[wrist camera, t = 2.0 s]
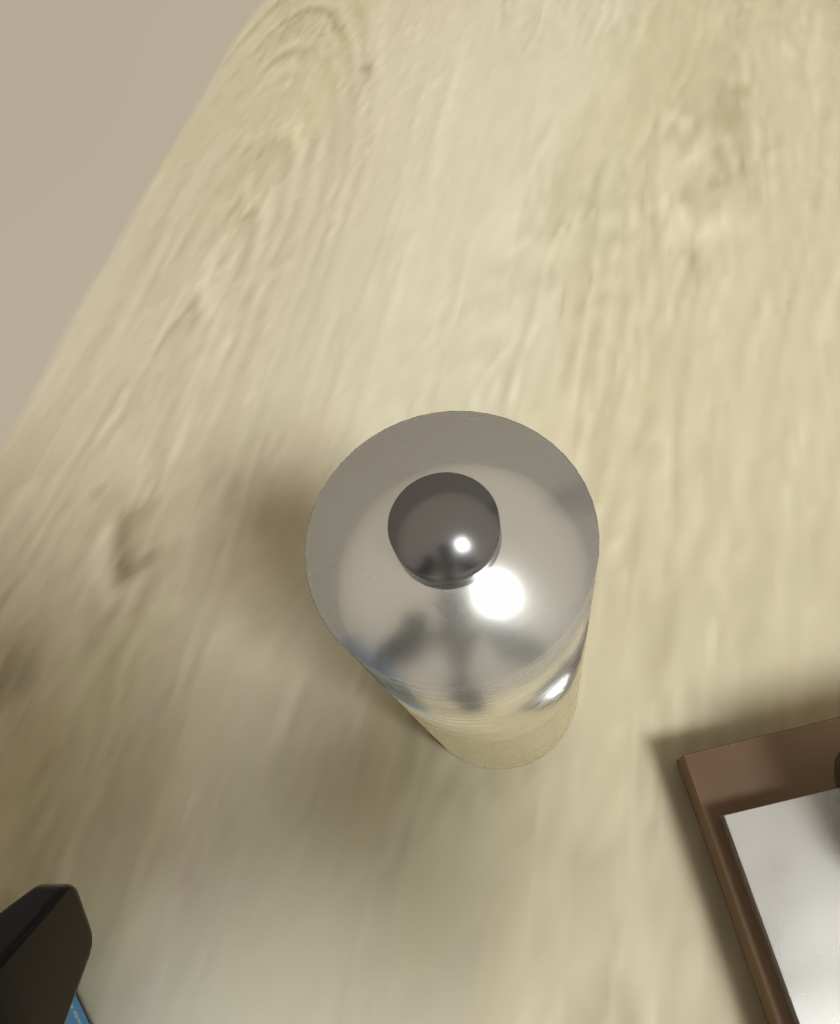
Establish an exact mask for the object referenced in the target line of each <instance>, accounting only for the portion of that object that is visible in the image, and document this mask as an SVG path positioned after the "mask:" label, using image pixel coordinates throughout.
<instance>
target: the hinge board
mask: <svg viewBox="0 0 840 1024" xmlns="http://www.w3.org/2000/svg"><path fill="white" fill-rule="evenodd" d="M839 752H840V717H838V718H834V719H830V720H826V721H822V722H818V723H813V724H809V725H805V726H801V727H797V728H793V729H789V730H785V731H781V732H777V733H773V734H769V735H765V736H761V737H757V738H752V739H748V740H744V741H740V742H736V743H732V744H728V745H724V746H720V747H716V748H712V749H708V750H704V751H700V752H696V753H691V754H687V755H684V756H682V757H681V758H680V759H679V760H677V763H678V766H679V769H680V771H681V774H682V777H683V780H684V783H685V786H686V789H687V792H688V794H689V797H690V800H691V803H692V806H693V809H694V812H695V814H696V817H697V820H698V823H699V826H700V829H701V832H702V835H703V837H704V840H705V843H706V846H707V849H708V852H709V855H710V858H711V860H712V863H713V866H714V869H715V872H716V875H717V878H718V880H719V883H720V886H721V889H722V892H723V895H724V898H725V901H726V903H727V906H728V909H729V912H730V915H731V918H732V921H733V923H734V926H735V929H736V932H737V935H738V938H739V941H740V944H741V946H742V949H743V952H744V955H745V958H746V961H747V964H748V966H749V969H750V972H751V975H752V978H753V981H754V984H755V987H756V989H757V992H758V995H759V998H760V1001H761V1004H762V1007H763V1010H764V1012H765V1015H766V1018H767V1021H768V1024H794V1023H793V1020H792V1017H791V1014H790V1012H789V1009H788V1006H787V1003H786V1000H785V998H784V995H783V992H782V989H781V987H780V984H779V981H778V978H777V976H776V973H775V970H774V967H773V964H772V962H771V959H770V956H769V953H768V951H767V948H766V945H765V942H764V939H763V937H762V934H761V931H760V928H759V926H758V923H757V920H756V917H755V915H754V912H753V909H752V906H751V903H750V901H749V898H748V895H747V892H746V890H745V887H744V884H743V881H742V879H741V876H740V873H739V870H738V867H737V865H736V862H735V859H734V856H733V854H732V851H731V848H730V845H729V843H728V840H727V837H726V834H725V831H724V829H723V826H722V823H721V820H720V818H719V817H721V816H725V815H729V814H733V813H737V812H742V811H746V810H750V809H754V808H758V807H762V806H766V805H771V804H775V803H779V802H783V801H787V800H791V799H796V798H800V797H804V796H808V795H812V794H816V793H820V792H825V791H829V790H833V789H836V784H835V777H834V763H835V758H836V756H837V754H838V753H839Z"/></svg>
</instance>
